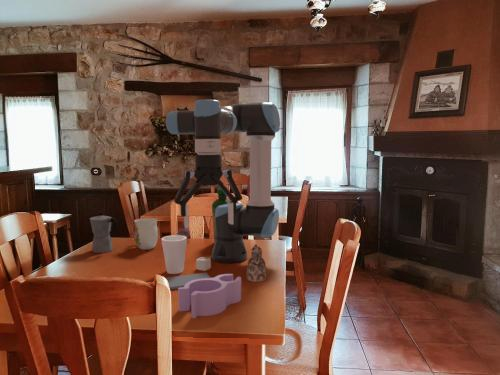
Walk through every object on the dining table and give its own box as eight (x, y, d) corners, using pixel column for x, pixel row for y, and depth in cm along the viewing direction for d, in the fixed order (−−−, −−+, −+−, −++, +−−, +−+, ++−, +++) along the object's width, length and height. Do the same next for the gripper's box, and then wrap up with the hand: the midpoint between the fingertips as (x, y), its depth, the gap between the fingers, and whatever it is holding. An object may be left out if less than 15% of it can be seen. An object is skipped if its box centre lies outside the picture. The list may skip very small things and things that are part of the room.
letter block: (202, 266, 161) (202, 256, 160) (210, 268, 159) (210, 258, 158) (196, 269, 157) (196, 259, 157) (204, 271, 155) (204, 260, 155)
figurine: (245, 281, 143) (245, 248, 142) (247, 274, 150) (247, 243, 149) (265, 281, 143) (266, 248, 142) (266, 275, 150) (266, 243, 149)
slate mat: (206, 275, 150) (206, 272, 150) (213, 284, 141) (213, 281, 141) (163, 280, 145) (163, 278, 144) (167, 290, 135) (167, 287, 135)
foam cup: (181, 276, 149) (181, 241, 148) (158, 274, 151) (157, 240, 150) (190, 268, 159) (189, 235, 157) (168, 266, 161) (167, 234, 159)
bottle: (209, 241, 201) (208, 185, 197) (230, 239, 204) (229, 184, 201) (215, 246, 191) (214, 187, 187) (236, 244, 194) (236, 186, 191)
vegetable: (177, 242, 198) (177, 222, 197) (177, 239, 204) (177, 220, 203) (190, 242, 199) (189, 222, 198) (189, 239, 205) (189, 219, 204)
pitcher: (150, 241, 200) (150, 214, 199) (164, 249, 185) (163, 220, 184) (128, 244, 194) (127, 216, 193) (140, 253, 179) (139, 223, 178)
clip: (224, 291, 135) (223, 271, 134) (250, 301, 126) (249, 280, 125) (173, 308, 121) (172, 286, 120) (198, 321, 112) (197, 297, 111)
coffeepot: (83, 251, 183) (81, 212, 181) (98, 246, 192) (96, 209, 190) (110, 255, 177) (109, 214, 175) (125, 249, 186) (123, 211, 184)
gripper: (167, 155, 110) (169, 231, 112) (252, 153, 119) (252, 224, 121) (162, 154, 117) (164, 226, 119) (243, 152, 126) (244, 219, 128)
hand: (209, 225), depth 120 cm, fingers open, 13 cm apart
